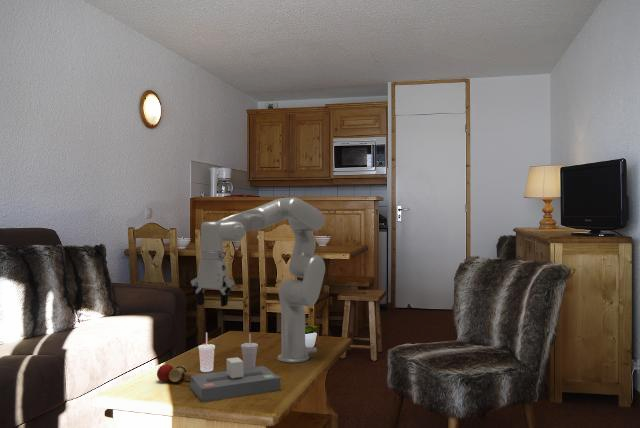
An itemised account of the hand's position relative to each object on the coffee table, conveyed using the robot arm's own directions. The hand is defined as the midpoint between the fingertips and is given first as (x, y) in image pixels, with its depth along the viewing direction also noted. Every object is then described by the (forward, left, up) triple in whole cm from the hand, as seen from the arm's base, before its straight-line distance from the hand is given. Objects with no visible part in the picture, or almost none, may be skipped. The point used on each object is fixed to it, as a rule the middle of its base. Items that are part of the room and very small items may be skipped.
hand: (212, 305), depth 192 cm
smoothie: (-15, -4, -26) cm, 30 cm away
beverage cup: (-1, -12, -26) cm, 29 cm away
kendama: (+10, -2, -26) cm, 28 cm away
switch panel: (-4, +13, -26) cm, 29 cm away
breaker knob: (-4, +14, -21) cm, 26 cm away
